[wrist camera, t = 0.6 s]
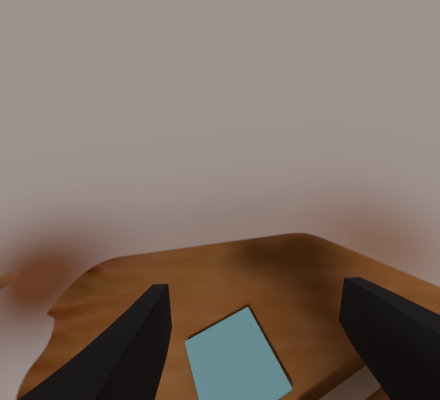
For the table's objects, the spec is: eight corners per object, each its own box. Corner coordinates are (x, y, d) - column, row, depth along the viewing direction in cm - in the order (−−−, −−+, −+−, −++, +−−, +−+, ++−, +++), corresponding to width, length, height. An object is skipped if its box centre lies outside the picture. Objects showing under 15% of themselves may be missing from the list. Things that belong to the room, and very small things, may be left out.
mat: (292, 389, 18) (292, 388, 18) (211, 445, 17) (210, 445, 16) (248, 308, 25) (247, 306, 24) (186, 343, 23) (184, 341, 22)
